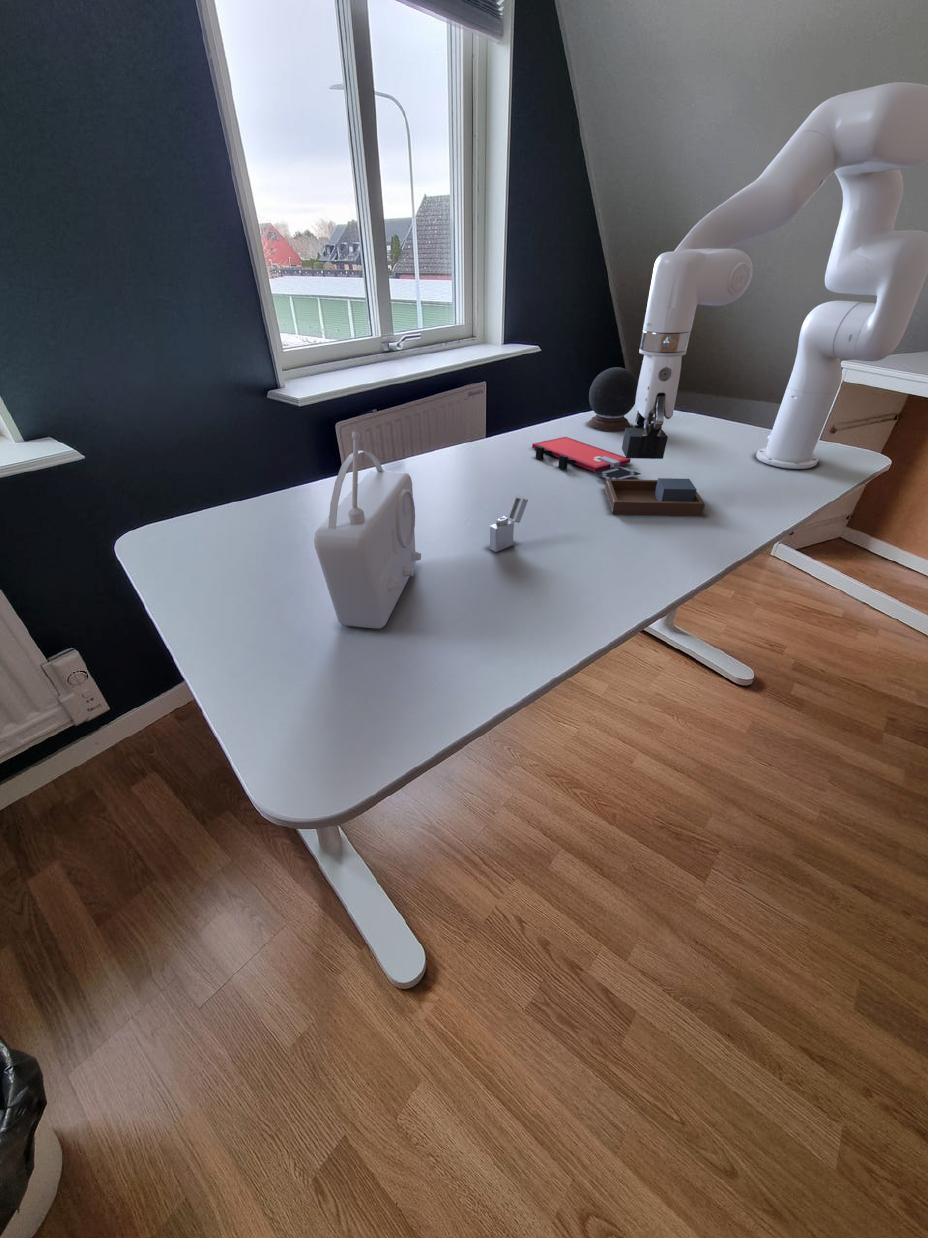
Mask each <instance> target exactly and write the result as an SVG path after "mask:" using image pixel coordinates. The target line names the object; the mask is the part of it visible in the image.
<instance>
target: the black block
mask: <svg viewBox="0 0 928 1238" xmlns="http://www.w3.org/2000/svg"><path fill="white" fill-rule="evenodd" d="M643 430H644V428H634V427H628V428H625V430H624V433H623V440H622V445H621V451H622V452H623V454H624V457H626V458H630V459H642V460H643V459H644V460H645V459H647V460H650V459H651V460H663V459H664V457H665V452H666V447H667V443H668V438H669V436H668V435H667V434H666V432H665V431H664V430H663V428H661V433H660V438H659V442H658V447H657V451H656V456H655V458H638V457H637V452H638V447H639V442H640V437H641V435H643Z"/></svg>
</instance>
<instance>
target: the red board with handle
mask: <svg viewBox="0 0 928 1238" xmlns="http://www.w3.org/2000/svg"><path fill="white" fill-rule="evenodd" d="M531 448H533V449H535V459H537V460H539V461H542V460H545V459H544V457H545V455H547V456H548V455H549V456H553V457H555V458H558V466H557V467H558V469H561V470H567V469H568V464H569V465H576V466H578V467H581V468H583V469H586V470H588V471H591V472H592V474H594V475H595V476H598V477H602V478H604V479H605V480H606V479H629V478H631V477H635V476H639V475H642V473H641V472H639V471H635V470H632V469H629V468H627V467H624V466H623V465H627V464H631V460H632V458H626V456H625V455H624V456H623V455H620V454H617V453H614V452H612V451H609V450H606V449H603V448H600V447H597V446H594V445H591V444H589V443H585V442H582V441H579V440H577V439H573V438H571V437H568V436H563V437H557V438H554V439H553V438H552V439H549V440H544V441H538V442H535V443H532V445H531Z"/></svg>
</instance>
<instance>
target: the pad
mask: <svg viewBox="0 0 928 1238" xmlns="http://www.w3.org/2000/svg"><path fill="white" fill-rule="evenodd" d="M657 480H658V481H657V485H656V490H655V494H654V495H655V497H656V499H657V501H677V502H693V501H694V498H695V494H696V491H697V490H698V489H697V488H696V486H695V485H694V483H693V482H692V481H691V479H690V478H672V477H671V478H670V477H669V478H664V477H662V478H661V477H658V478H657Z"/></svg>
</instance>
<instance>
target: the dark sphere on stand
mask: <svg viewBox="0 0 928 1238" xmlns="http://www.w3.org/2000/svg"><path fill="white" fill-rule="evenodd" d="M637 387H638V380H637V378H636V377H635V375H634V374H633V373H632V372H631V371H629V370H628V369H626V368H624V367H617V366H615V367H614V366H613V367H610V368H607V369H605V370H603V371H601V372H600V373H599V374H598V375H597V376H596V377H595V378H594V379H593V381H592V383H591V385H590V388H589V393H588V401H589V406H590V408H591V409H592V411H593V412H594V414H596V415H595V416H592V417H591V418H590V420H589V421H588V426H589V428H591V429H594V430H598V431H604V432H619V431H625V428H630V422H629V420H628V419H627V418H626V417H625V416H626V415H627V414H629V413H630V412H631V411H632V409H634V407H635V401H636V393H637Z"/></svg>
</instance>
